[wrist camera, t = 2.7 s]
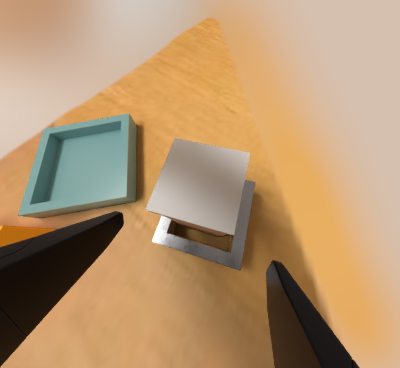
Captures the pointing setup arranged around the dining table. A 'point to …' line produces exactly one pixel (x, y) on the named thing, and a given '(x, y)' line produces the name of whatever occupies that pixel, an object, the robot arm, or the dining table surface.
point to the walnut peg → (201, 187)
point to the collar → (205, 251)
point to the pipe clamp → (19, 234)
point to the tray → (83, 168)
